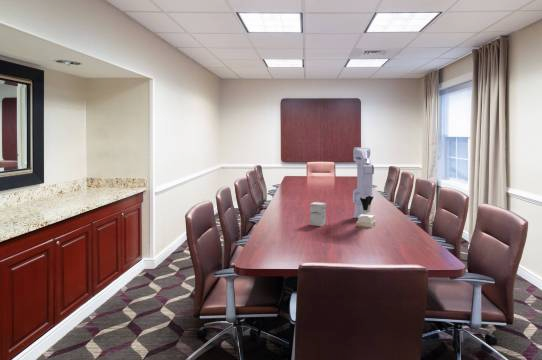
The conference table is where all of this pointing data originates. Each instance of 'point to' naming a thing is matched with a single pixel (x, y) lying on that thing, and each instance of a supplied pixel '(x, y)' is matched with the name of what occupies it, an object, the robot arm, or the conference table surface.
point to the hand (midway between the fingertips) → (366, 209)
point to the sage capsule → (367, 209)
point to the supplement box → (317, 214)
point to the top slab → (366, 218)
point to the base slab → (366, 224)
